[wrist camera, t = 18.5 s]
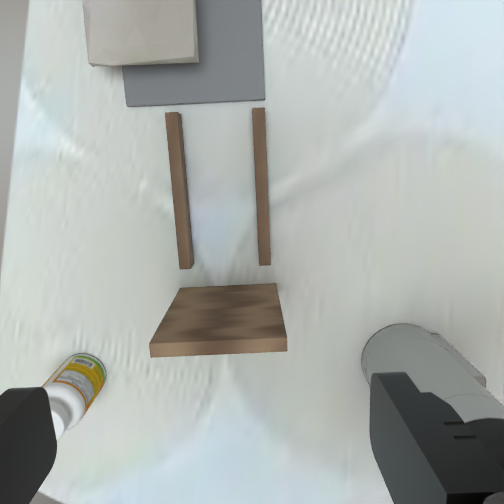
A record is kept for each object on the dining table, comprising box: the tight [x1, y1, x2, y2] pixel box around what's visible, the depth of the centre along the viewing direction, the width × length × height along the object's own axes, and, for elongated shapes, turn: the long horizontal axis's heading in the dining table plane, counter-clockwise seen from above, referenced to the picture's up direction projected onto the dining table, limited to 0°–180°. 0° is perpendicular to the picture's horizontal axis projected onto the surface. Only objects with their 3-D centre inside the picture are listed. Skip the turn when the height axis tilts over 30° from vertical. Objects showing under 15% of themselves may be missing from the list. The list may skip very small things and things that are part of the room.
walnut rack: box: [149, 108, 287, 358], centre depth 36 cm, size 11×20×14 cm, turn 3°
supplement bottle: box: [42, 354, 106, 440], centre depth 42 cm, size 5×5×10 cm
